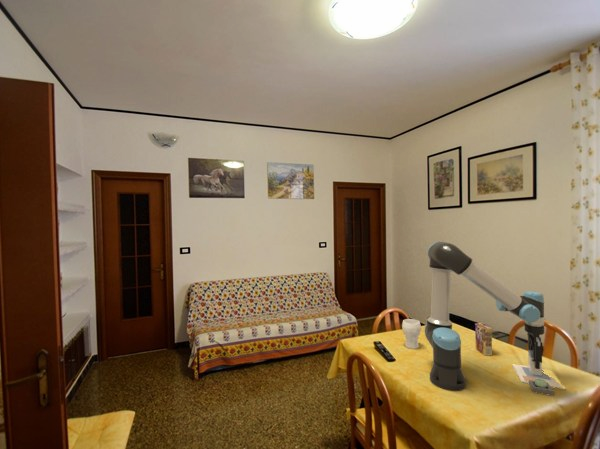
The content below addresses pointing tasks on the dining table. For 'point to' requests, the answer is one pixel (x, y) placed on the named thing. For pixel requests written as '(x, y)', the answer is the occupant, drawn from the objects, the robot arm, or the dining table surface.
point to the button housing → (541, 390)
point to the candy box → (483, 339)
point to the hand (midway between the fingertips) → (535, 372)
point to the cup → (411, 332)
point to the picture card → (534, 376)
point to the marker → (532, 362)
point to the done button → (540, 383)
